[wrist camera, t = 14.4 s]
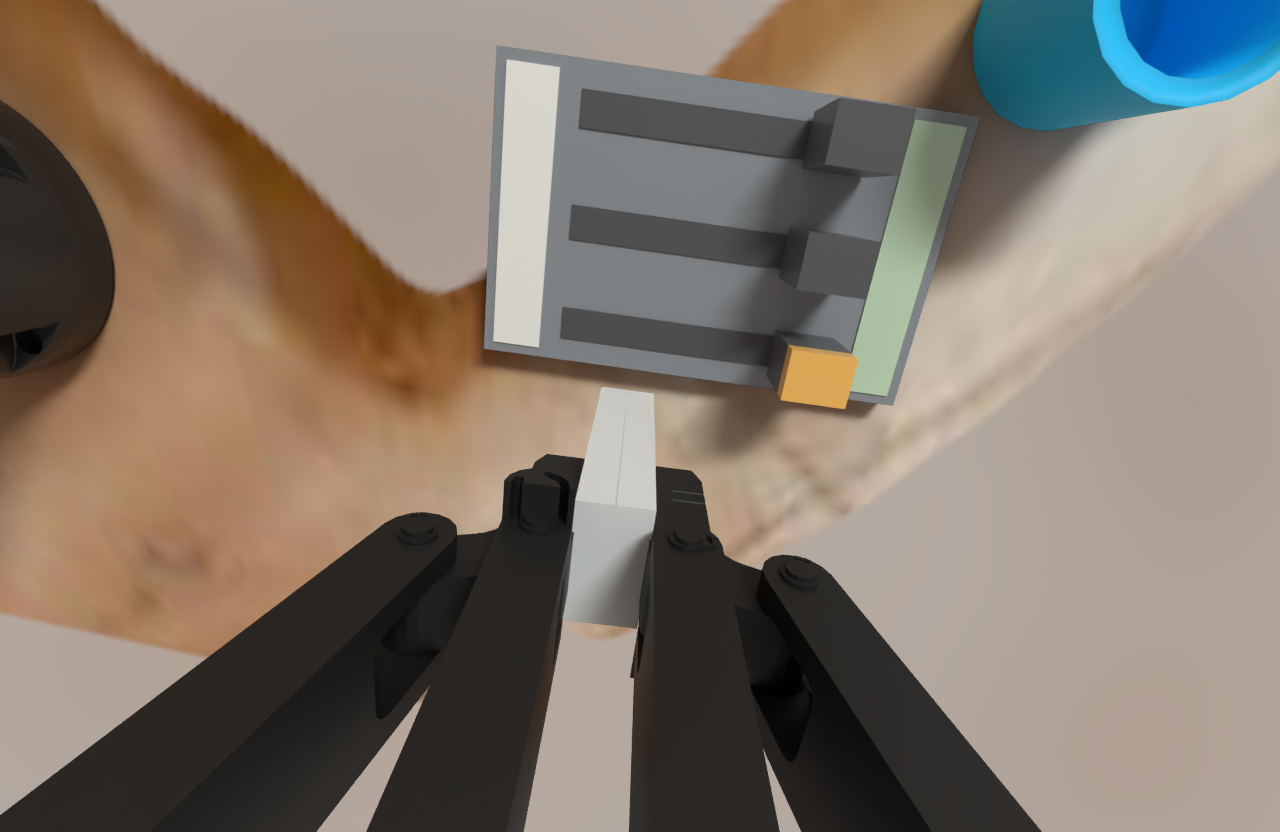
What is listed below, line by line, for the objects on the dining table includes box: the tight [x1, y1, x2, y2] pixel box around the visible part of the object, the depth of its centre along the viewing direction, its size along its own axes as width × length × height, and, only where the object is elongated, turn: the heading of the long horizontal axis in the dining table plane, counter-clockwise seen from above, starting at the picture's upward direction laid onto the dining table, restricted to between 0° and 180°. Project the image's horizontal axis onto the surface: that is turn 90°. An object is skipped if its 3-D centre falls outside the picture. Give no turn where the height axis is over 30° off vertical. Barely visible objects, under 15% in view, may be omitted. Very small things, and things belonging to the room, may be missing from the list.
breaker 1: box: [802, 97, 916, 178], centre depth 25 cm, size 3×2×4 cm
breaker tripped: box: [766, 330, 859, 409], centre depth 29 cm, size 3×2×4 cm
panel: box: [484, 46, 980, 406], centre depth 30 cm, size 22×14×2 cm, turn 82°
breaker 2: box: [779, 227, 881, 299], centre depth 27 cm, size 3×2×4 cm
